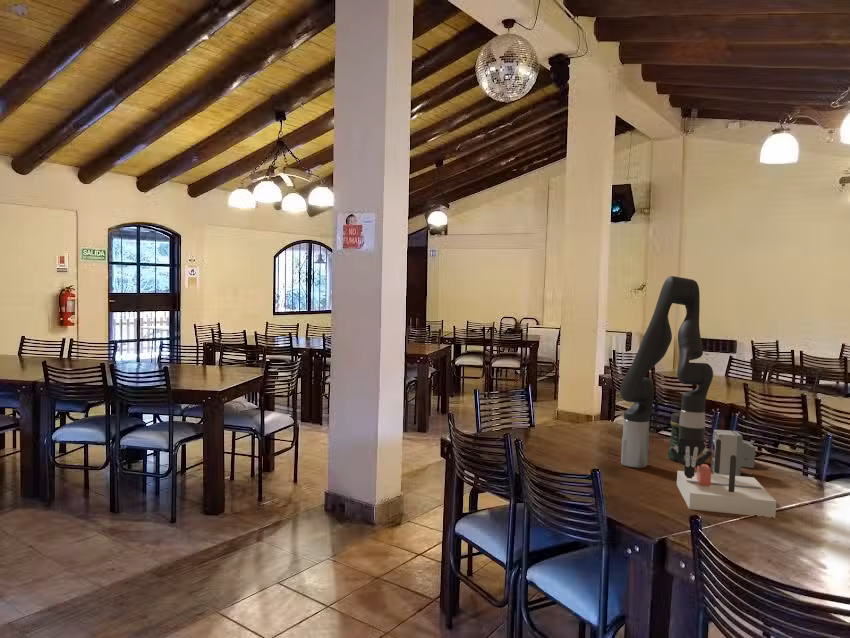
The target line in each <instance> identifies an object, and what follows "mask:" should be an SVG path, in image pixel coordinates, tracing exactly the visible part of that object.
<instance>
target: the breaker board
mask: <svg viewBox="0 0 850 638" xmlns="http://www.w3.org/2000/svg"><path fill="white" fill-rule="evenodd" d="M676 471H677V476H676V487H677V488H678V491H679V492H680V494H681V496H682V498H683V500H684V501H685V504H686V506H687V508H688V509H689V510H697V511H703V512H715V513H724V514H732V515H733V514H734V515H743V516H744V515H745V516H752V515H757V516H756V517H761V516H765V517H764V518H771V517H773V519H775V518H776V515H777V514H776V513H777V500H776V499H775V498H774V497H773V496H772V494H770V493H769V492H768V491H767V490H766V489H765V487H764V486H763V485H761V483H760V482H759V481H758V480H757V479H756V478H755V476H753V477H751V476H741V475H740V476H735V487H734V492H729V491H728V489H729V475H721V474H715V473H711V483H710V485H700V483H699V482H698V480H697V471H694V477H692V479H691V478H687V477H686V476H685V474H684V470H676Z"/></svg>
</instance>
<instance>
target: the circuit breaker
mask: <svg viewBox="0 0 850 638" xmlns="http://www.w3.org/2000/svg"><path fill="white" fill-rule="evenodd" d="M743 438H744V437H743V435H742V434H741V433H739V432H738V431H737V430H724V429H713V433H712V441H713V445H714V450H715V449H716V440H718V439H719V440H721V454H720V471H719V473H715V472H714V466H715V452H713V453H714V455H713V456H711V460H710V461H711V463H710V469H711V472H712V473H713V474H721V475H729V473H730V457H731V456H732V455H735V456H736V471H735V476H741V470H742V468H751V469H752V468H753V469H754V468H755V460H756V459H755V458H759V454H758V453H757V452H756V447H755V446H754V445H753V444H752V443H751V442H749V441H743V440H744V439H743Z"/></svg>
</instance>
